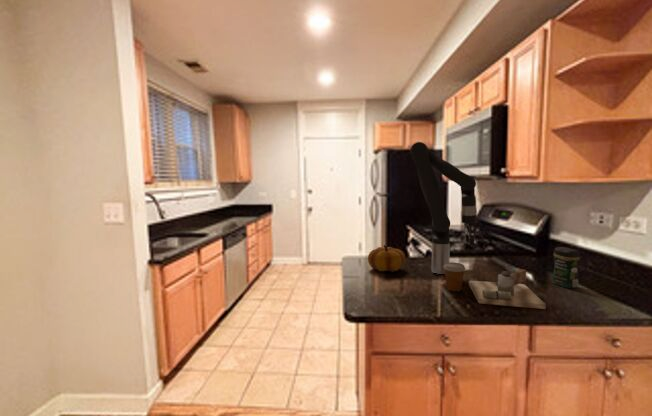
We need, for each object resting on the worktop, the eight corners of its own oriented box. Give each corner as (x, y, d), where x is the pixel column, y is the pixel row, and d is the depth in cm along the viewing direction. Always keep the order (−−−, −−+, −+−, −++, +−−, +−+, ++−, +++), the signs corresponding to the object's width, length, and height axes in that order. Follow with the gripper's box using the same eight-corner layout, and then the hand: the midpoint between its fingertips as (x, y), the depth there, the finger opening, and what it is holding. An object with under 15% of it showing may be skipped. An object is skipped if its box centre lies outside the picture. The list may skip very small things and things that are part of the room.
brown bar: (509, 297, 124) (510, 275, 123) (495, 293, 129) (495, 271, 128) (530, 287, 134) (530, 267, 133) (515, 284, 139) (516, 264, 138)
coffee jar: (548, 282, 147) (550, 246, 145) (562, 281, 148) (564, 245, 146) (567, 289, 137) (569, 250, 136) (581, 288, 138) (583, 249, 137)
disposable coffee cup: (463, 286, 143) (464, 262, 142) (466, 293, 134) (466, 268, 133) (442, 285, 146) (443, 261, 145) (443, 291, 137) (444, 266, 137)
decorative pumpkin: (384, 277, 160) (384, 250, 159) (361, 267, 179) (361, 243, 178) (412, 271, 169) (412, 246, 168) (387, 263, 189) (387, 240, 188)
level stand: (478, 303, 124) (479, 291, 123) (468, 284, 147) (469, 274, 146) (545, 309, 117) (546, 296, 116) (524, 288, 140) (524, 277, 139)
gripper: (458, 213, 166) (459, 241, 167) (464, 215, 152) (465, 246, 154) (473, 212, 164) (474, 241, 166) (480, 215, 151) (481, 246, 152)
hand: (469, 243), depth 160 cm, fingers open, 8 cm apart
